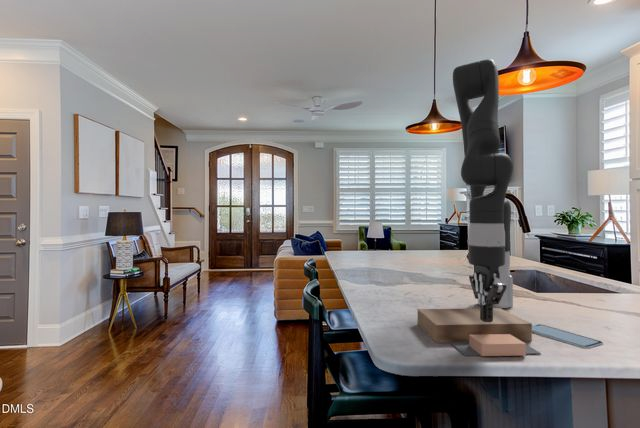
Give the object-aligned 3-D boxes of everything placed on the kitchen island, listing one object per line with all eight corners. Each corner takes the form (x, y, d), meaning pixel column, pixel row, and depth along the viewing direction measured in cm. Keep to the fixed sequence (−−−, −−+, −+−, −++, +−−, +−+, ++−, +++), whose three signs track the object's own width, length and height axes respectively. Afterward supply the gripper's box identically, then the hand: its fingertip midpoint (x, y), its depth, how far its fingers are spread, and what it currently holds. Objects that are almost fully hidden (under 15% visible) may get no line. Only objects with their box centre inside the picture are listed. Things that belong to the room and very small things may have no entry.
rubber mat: (520, 342, 86) (520, 340, 86) (540, 354, 78) (540, 353, 78) (450, 343, 85) (450, 341, 85) (464, 355, 78) (464, 354, 78)
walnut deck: (499, 323, 100) (499, 308, 100) (531, 341, 86) (531, 323, 86) (417, 324, 99) (417, 309, 99) (436, 342, 85) (436, 324, 85)
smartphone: (586, 347, 81) (521, 327, 95) (586, 351, 81) (521, 331, 95) (605, 342, 85) (540, 323, 98) (605, 346, 85) (540, 327, 98)
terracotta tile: (525, 343, 77) (525, 355, 77) (509, 334, 83) (509, 345, 83) (482, 344, 77) (482, 356, 77) (469, 334, 83) (469, 345, 83)
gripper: (519, 246, 78) (519, 330, 78) (488, 241, 92) (488, 313, 92) (484, 246, 78) (484, 330, 78) (457, 241, 91) (457, 313, 91)
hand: (486, 321), depth 85 cm, fingers closed
